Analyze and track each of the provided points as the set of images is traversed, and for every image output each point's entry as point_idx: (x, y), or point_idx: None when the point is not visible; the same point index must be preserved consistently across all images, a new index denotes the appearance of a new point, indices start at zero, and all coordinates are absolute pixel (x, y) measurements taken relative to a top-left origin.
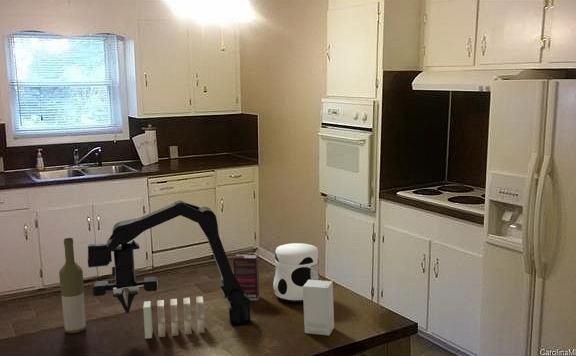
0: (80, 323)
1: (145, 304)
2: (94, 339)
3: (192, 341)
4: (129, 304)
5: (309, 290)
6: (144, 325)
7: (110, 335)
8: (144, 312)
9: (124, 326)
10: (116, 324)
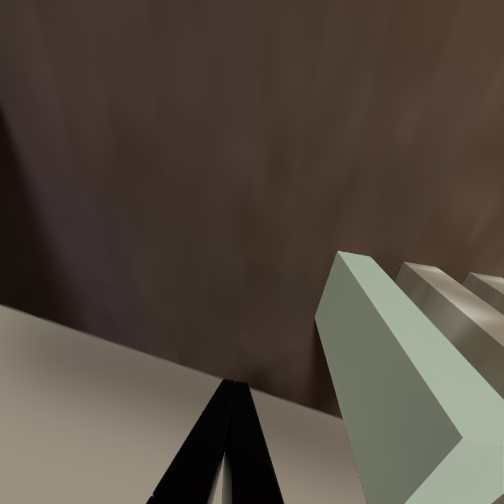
0: None
1: (430, 500)
2: (84, 237)
3: None
4: None
5: None
6: (330, 371)
7: (157, 222)
8: (364, 471)
9: (233, 119)
10: (180, 53)
